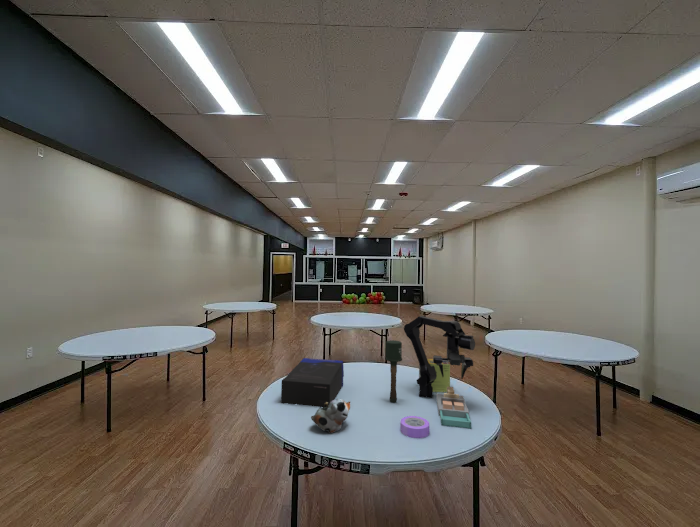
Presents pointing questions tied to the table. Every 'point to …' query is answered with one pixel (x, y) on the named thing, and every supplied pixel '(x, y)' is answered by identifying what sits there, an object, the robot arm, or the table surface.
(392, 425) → the table surface
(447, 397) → the tan stepped block
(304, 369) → the headphone box
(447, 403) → the tile
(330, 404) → the lucky cat figurine
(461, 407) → the tile
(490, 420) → the table surface
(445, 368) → the protein box
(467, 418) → the tray
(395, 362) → the potato masher grenade
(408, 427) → the masking tape
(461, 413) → the board
